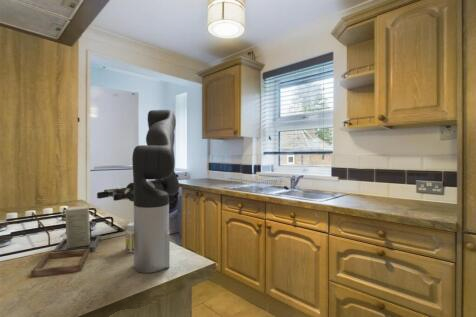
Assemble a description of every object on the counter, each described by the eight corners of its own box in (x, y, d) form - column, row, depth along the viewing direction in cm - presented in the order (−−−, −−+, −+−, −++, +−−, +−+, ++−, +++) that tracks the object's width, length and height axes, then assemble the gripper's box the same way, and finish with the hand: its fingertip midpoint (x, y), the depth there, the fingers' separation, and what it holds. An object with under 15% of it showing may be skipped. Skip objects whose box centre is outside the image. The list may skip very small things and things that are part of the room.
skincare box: (90, 241, 88) (90, 205, 88) (89, 245, 84) (88, 208, 84) (67, 243, 86) (67, 206, 85) (65, 248, 82) (65, 209, 81)
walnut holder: (89, 253, 80) (89, 248, 80) (80, 270, 69) (80, 265, 69) (48, 257, 76) (47, 252, 76) (31, 276, 65) (31, 271, 65)
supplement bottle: (144, 247, 85) (144, 221, 85) (137, 253, 81) (137, 226, 80) (130, 246, 86) (130, 221, 86) (122, 252, 81) (122, 225, 81)
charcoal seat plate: (100, 239, 92) (100, 235, 92) (94, 251, 81) (94, 247, 81) (63, 242, 88) (63, 238, 88) (52, 255, 78) (52, 251, 78)
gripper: (128, 180, 110) (92, 184, 96) (154, 182, 104) (120, 187, 90) (128, 198, 111) (92, 205, 96) (154, 201, 104) (120, 209, 90)
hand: (105, 196), depth 93 cm, fingers open, 8 cm apart
